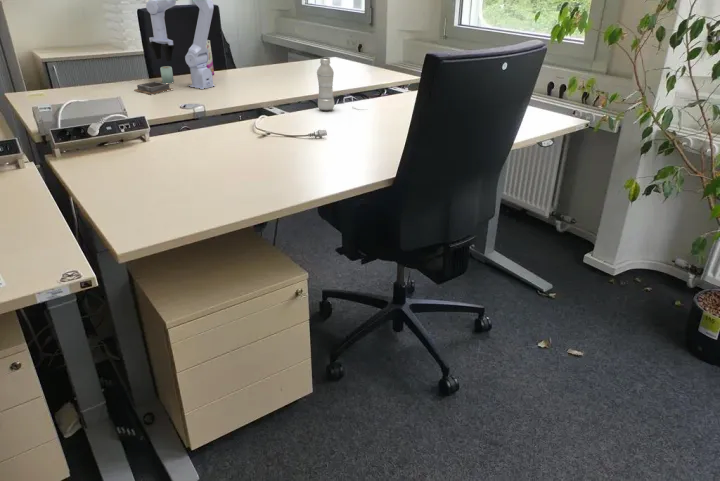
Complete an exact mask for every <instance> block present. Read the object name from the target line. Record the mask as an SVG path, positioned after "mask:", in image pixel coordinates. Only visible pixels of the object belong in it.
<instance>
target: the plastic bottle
mask: <svg viewBox="0 0 720 481" xmlns="http://www.w3.org/2000/svg"><path fill="white" fill-rule="evenodd" d="M319 61H320V62H319V64H320V65H319V67H318V68H317V69H316V75H317V81H318V99H317V106H318V109H319V110H320V111H326V112H327V111H332V110H333V109H334V107H335V98H334V92H333V91H334V90H333V86H334V84H333V82H334V76H335V75H334V70H333V67H332V66H331V65H330V64H331V57H320V60H319Z"/></svg>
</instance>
